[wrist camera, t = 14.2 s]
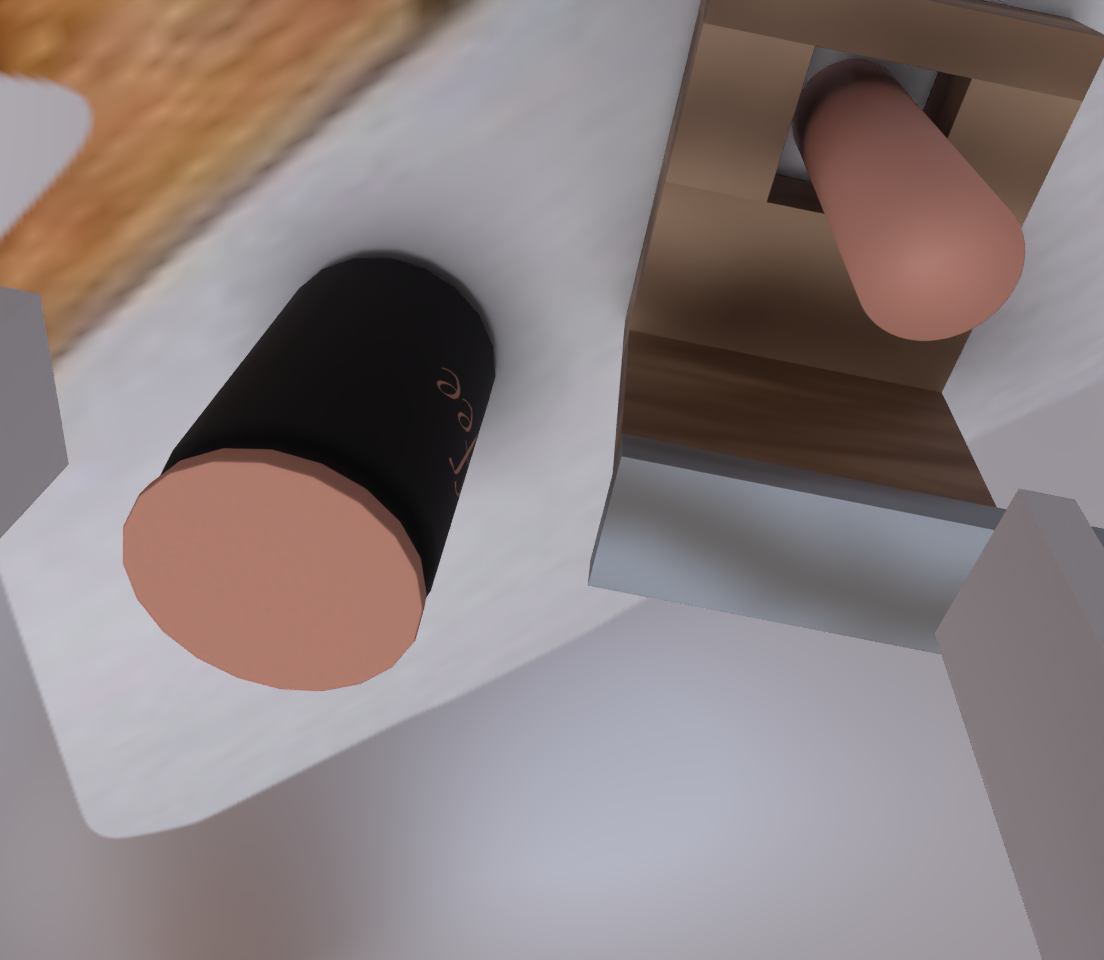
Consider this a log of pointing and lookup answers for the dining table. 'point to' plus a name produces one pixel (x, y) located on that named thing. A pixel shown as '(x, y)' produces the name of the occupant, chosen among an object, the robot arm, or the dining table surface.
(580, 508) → the dining table surface
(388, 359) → the coffee jar
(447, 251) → the dining table surface
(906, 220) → the peg
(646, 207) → the dining table surface
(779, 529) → the station
